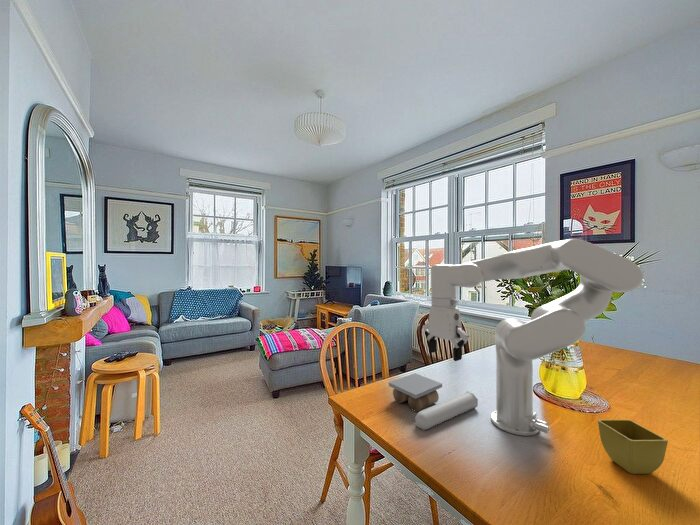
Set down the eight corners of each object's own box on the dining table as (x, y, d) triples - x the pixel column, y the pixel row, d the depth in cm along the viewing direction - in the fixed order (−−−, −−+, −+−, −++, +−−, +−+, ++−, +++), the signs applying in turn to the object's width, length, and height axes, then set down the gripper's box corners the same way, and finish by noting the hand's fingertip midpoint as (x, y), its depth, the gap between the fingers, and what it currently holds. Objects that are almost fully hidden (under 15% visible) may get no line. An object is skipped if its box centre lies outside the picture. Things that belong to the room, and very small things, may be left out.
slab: (442, 387, 100) (442, 383, 100) (415, 398, 91) (415, 395, 91) (415, 376, 109) (415, 373, 109) (388, 385, 101) (388, 382, 101)
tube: (426, 422, 81) (480, 399, 94) (413, 408, 85) (466, 388, 98) (422, 437, 82) (475, 412, 96) (409, 422, 87) (462, 400, 100)
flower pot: (630, 454, 73) (629, 418, 73) (669, 480, 64) (669, 440, 64) (596, 454, 73) (596, 419, 73) (631, 481, 64) (631, 440, 64)
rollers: (438, 404, 98) (438, 390, 98) (419, 414, 92) (419, 398, 92) (411, 392, 108) (411, 378, 108) (392, 399, 102) (392, 385, 102)
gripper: (475, 304, 87) (476, 361, 87) (430, 299, 101) (431, 347, 101) (459, 306, 83) (460, 366, 83) (415, 300, 97) (416, 351, 97)
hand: (444, 355), depth 92 cm, fingers open, 9 cm apart
